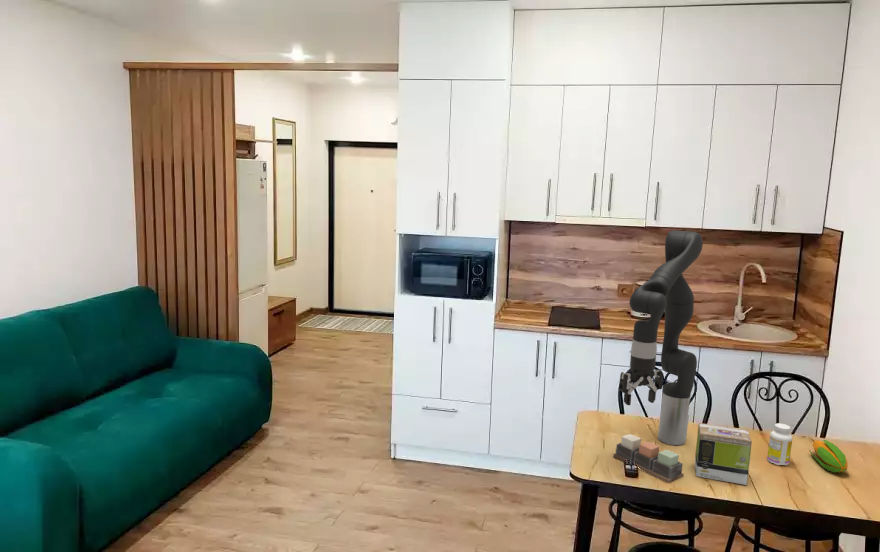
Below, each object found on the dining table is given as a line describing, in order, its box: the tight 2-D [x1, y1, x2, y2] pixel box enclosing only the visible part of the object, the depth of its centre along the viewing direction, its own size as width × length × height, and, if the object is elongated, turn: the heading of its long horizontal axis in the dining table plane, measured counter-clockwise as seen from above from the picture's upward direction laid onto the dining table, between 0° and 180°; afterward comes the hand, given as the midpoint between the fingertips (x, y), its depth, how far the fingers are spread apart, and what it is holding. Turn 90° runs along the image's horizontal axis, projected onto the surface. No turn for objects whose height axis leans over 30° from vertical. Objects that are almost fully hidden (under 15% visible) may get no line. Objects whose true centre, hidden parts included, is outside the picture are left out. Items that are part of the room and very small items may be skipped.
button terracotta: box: [639, 441, 661, 458], centre depth 209 cm, size 4×4×4 cm
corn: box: [809, 439, 849, 474], centre depth 217 cm, size 7×8×20 cm
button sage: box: [657, 449, 680, 467], centre depth 203 cm, size 4×4×4 cm
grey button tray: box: [612, 442, 684, 484], centre depth 209 cm, size 8×21×4 cm, turn 37°
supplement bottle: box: [766, 422, 793, 466], centre depth 216 cm, size 7×7×13 cm
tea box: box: [694, 422, 753, 486], centre depth 205 cm, size 15×10×15 cm
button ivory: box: [620, 433, 642, 450], centre depth 214 cm, size 4×4×4 cm
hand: (639, 403), depth 205 cm, fingers open, 8 cm apart
